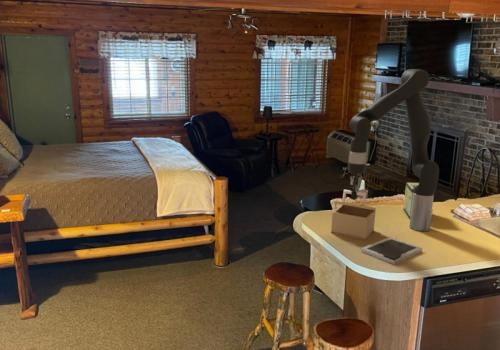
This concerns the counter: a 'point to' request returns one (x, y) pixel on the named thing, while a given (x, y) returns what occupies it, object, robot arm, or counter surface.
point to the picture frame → (391, 250)
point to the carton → (353, 221)
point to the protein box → (409, 197)
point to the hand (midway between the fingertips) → (354, 198)
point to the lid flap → (354, 204)
